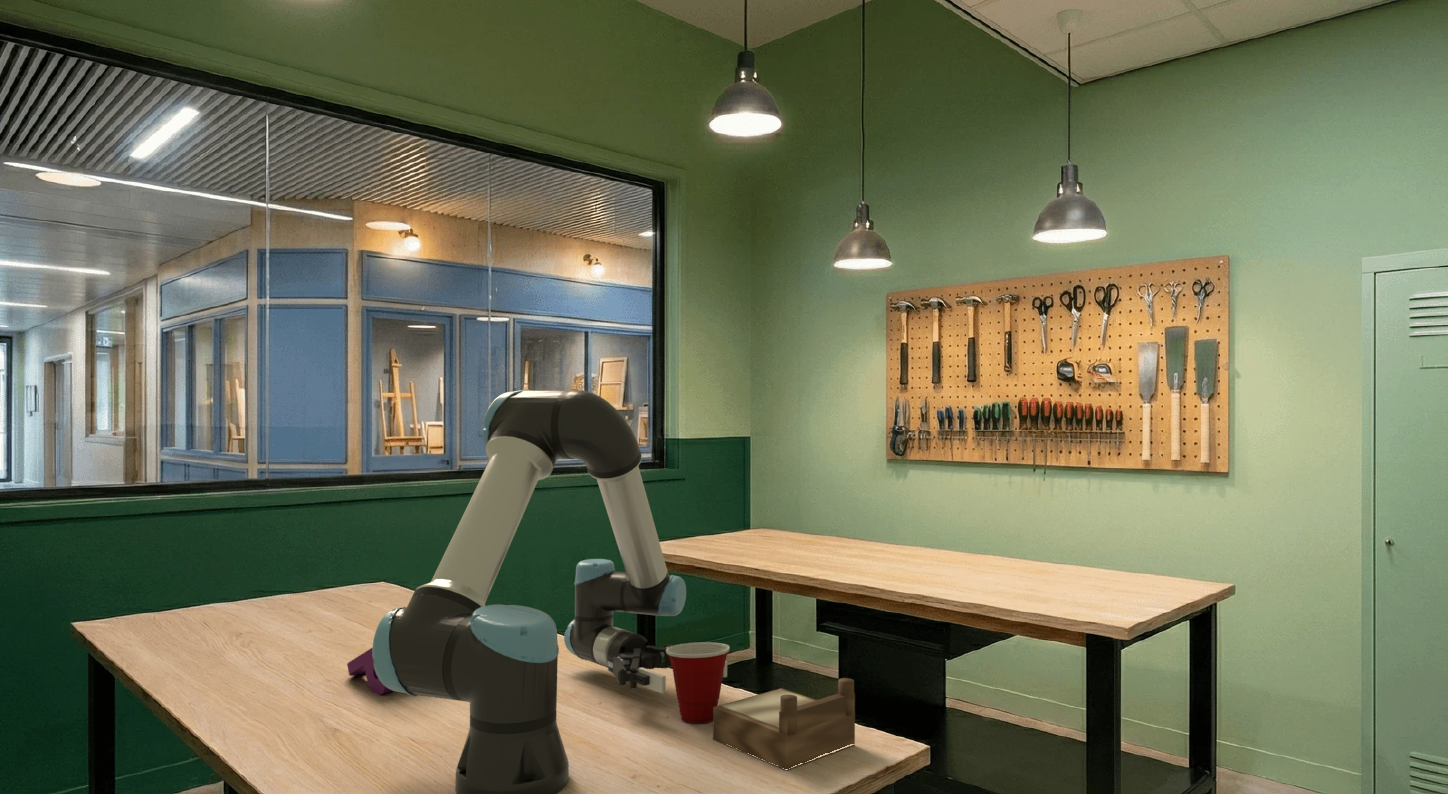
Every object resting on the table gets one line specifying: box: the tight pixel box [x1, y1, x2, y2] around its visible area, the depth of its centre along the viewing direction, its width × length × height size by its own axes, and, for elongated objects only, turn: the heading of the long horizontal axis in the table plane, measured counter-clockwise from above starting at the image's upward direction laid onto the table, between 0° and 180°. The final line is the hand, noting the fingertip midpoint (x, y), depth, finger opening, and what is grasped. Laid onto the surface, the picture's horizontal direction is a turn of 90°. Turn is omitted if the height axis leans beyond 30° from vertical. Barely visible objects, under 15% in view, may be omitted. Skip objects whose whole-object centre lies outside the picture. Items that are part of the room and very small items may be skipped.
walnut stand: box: [712, 677, 856, 770], centre depth 137 cm, size 16×15×10 cm
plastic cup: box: [666, 641, 731, 725], centre depth 148 cm, size 11×11×12 cm
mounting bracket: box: [346, 646, 394, 696], centre depth 167 cm, size 9×8×18 cm
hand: (695, 676), depth 150 cm, fingers open, 13 cm apart
